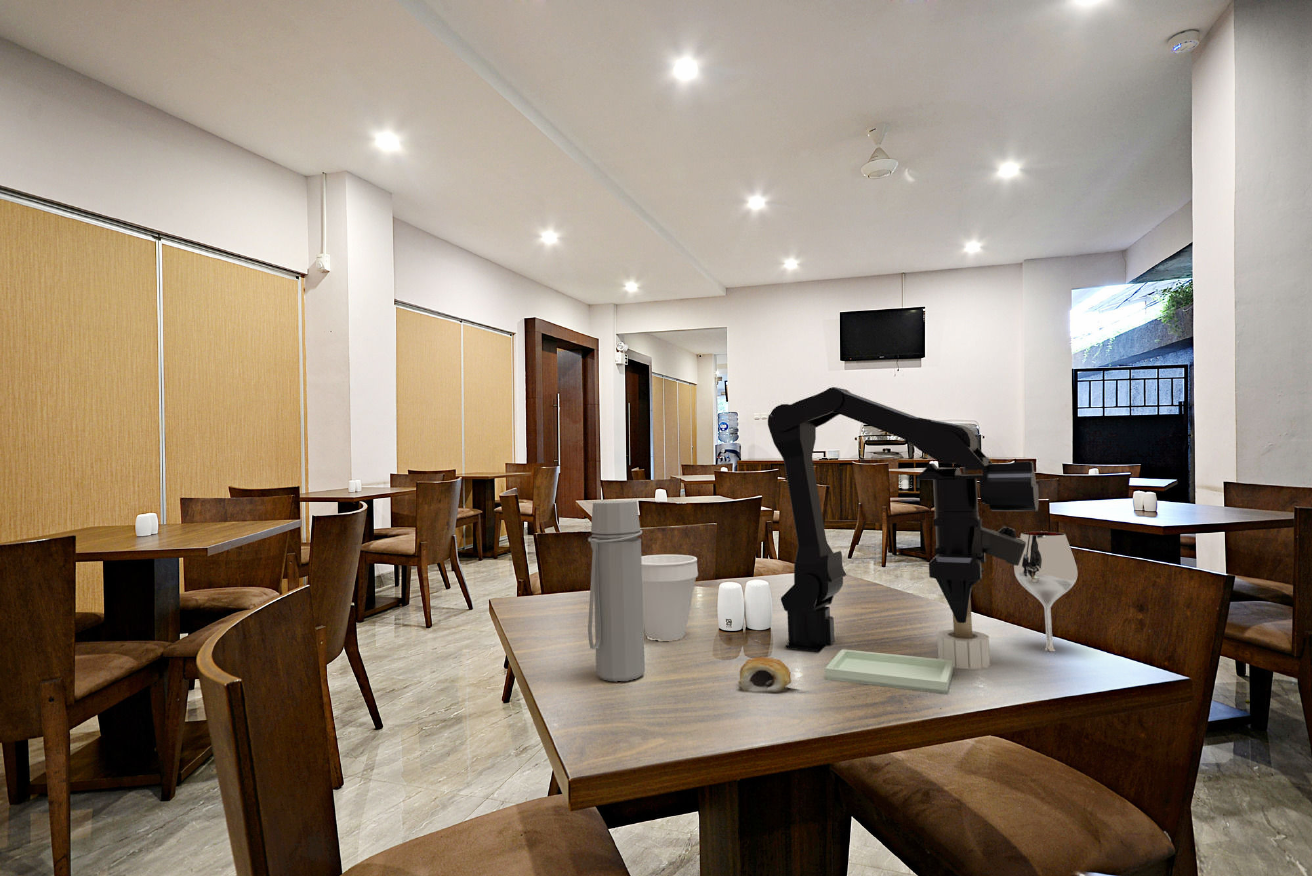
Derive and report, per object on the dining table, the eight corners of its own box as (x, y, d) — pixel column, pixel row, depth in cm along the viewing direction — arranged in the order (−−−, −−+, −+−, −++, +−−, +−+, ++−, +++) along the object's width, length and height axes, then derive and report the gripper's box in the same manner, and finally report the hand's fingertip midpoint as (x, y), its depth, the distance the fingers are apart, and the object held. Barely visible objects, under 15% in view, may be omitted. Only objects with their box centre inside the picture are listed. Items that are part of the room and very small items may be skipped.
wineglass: (1093, 663, 93) (1085, 536, 94) (1030, 662, 95) (1022, 536, 96) (1069, 648, 101) (1061, 530, 102) (1011, 647, 103) (1004, 531, 104)
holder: (937, 671, 92) (935, 638, 92) (941, 658, 98) (939, 627, 98) (989, 676, 89) (987, 643, 89) (991, 663, 95) (989, 631, 95)
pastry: (746, 671, 96) (745, 645, 96) (793, 674, 94) (792, 647, 94) (737, 693, 86) (736, 664, 87) (790, 696, 85) (789, 666, 85)
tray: (825, 684, 88) (824, 668, 88) (842, 664, 97) (841, 649, 97) (947, 700, 81) (946, 682, 81) (954, 676, 90) (953, 660, 90)
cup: (637, 628, 123) (634, 554, 124) (702, 628, 122) (700, 553, 122) (624, 645, 111) (622, 564, 112) (697, 646, 109) (694, 563, 110)
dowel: (954, 655, 93) (950, 577, 94) (955, 650, 95) (951, 574, 96) (973, 657, 92) (968, 577, 93) (973, 652, 94) (969, 575, 95)
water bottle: (621, 664, 100) (617, 500, 101) (658, 674, 95) (652, 500, 96) (573, 679, 94) (568, 503, 95) (609, 691, 88) (603, 504, 89)
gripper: (1020, 516, 83) (1028, 641, 82) (1019, 506, 99) (1025, 611, 98) (925, 515, 88) (931, 633, 87) (939, 506, 104) (944, 606, 104)
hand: (962, 620), depth 94 cm, fingers closed on dowel, 2 cm apart
